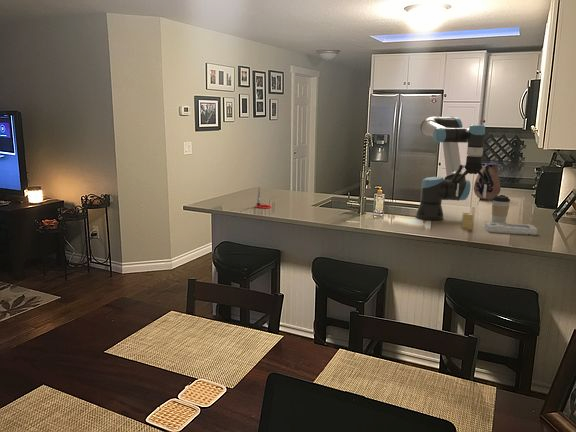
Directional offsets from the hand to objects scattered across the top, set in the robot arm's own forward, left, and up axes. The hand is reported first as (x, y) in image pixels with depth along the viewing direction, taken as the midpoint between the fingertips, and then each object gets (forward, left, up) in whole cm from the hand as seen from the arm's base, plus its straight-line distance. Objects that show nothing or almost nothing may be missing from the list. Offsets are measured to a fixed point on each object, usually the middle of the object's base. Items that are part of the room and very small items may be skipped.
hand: (470, 196), depth 250 cm
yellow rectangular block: (-1, 0, -17) cm, 17 cm away
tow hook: (-117, +24, -17) cm, 120 cm away
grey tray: (+21, 0, -17) cm, 27 cm away
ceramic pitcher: (+27, +99, -17) cm, 104 cm away
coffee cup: (+19, +20, -17) cm, 32 cm away
